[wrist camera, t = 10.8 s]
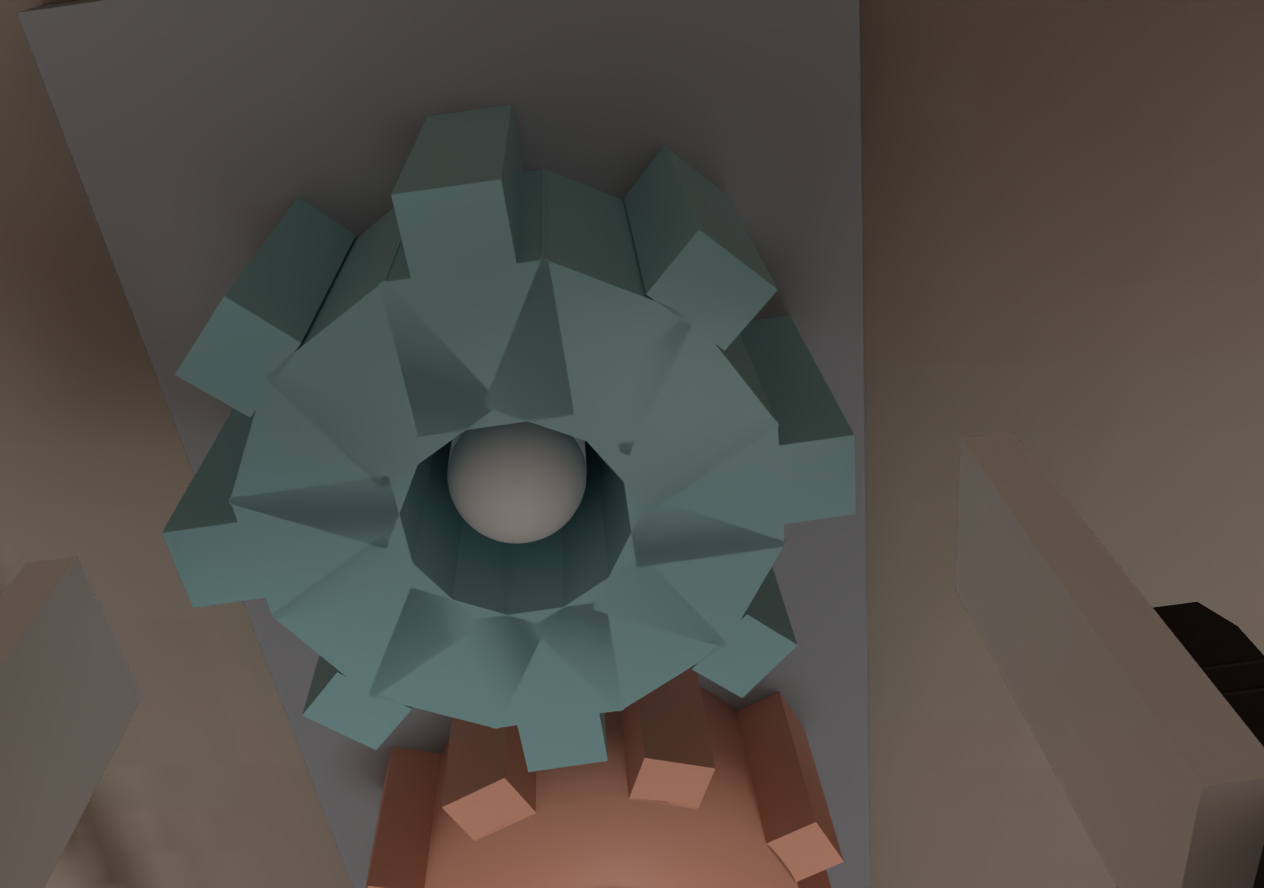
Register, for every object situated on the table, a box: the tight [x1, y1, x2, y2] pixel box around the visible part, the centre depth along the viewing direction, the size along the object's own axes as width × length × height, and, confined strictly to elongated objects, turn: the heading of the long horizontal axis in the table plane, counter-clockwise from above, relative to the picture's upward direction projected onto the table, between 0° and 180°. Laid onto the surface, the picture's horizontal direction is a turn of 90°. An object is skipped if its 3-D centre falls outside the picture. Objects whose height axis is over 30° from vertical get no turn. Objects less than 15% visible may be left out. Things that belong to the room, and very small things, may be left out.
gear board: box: [17, 0, 871, 888], centre depth 22 cm, size 28×14×6 cm, turn 7°
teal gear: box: [162, 104, 856, 772], centre depth 19 cm, size 11×11×5 cm
